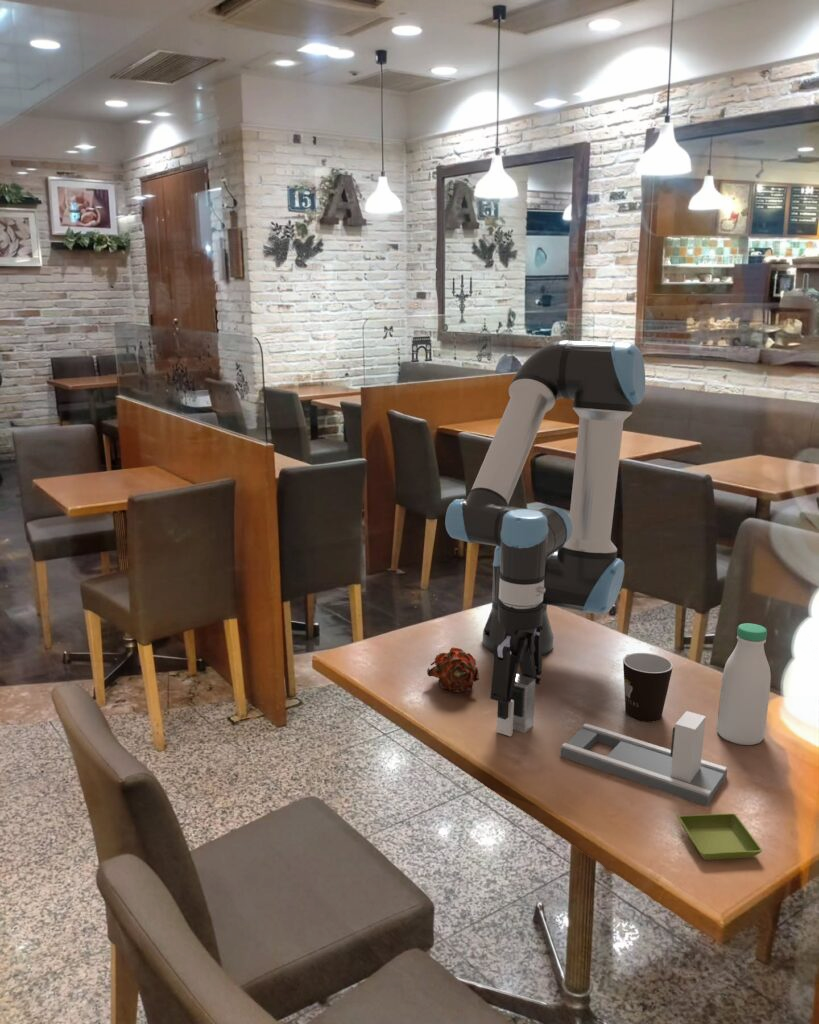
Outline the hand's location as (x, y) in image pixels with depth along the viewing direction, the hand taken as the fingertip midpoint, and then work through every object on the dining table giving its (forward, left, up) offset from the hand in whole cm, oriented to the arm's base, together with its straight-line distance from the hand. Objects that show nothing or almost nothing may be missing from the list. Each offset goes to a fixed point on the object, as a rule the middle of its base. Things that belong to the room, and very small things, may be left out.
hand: (514, 724), depth 154 cm
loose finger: (0, 0, 0) cm, 1 cm away
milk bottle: (-20, +33, 0) cm, 39 cm away
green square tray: (+13, +39, -1) cm, 41 cm away
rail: (0, +23, 0) cm, 23 cm away
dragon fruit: (-6, -17, -1) cm, 18 cm away
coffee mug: (-19, +16, 0) cm, 25 cm away
